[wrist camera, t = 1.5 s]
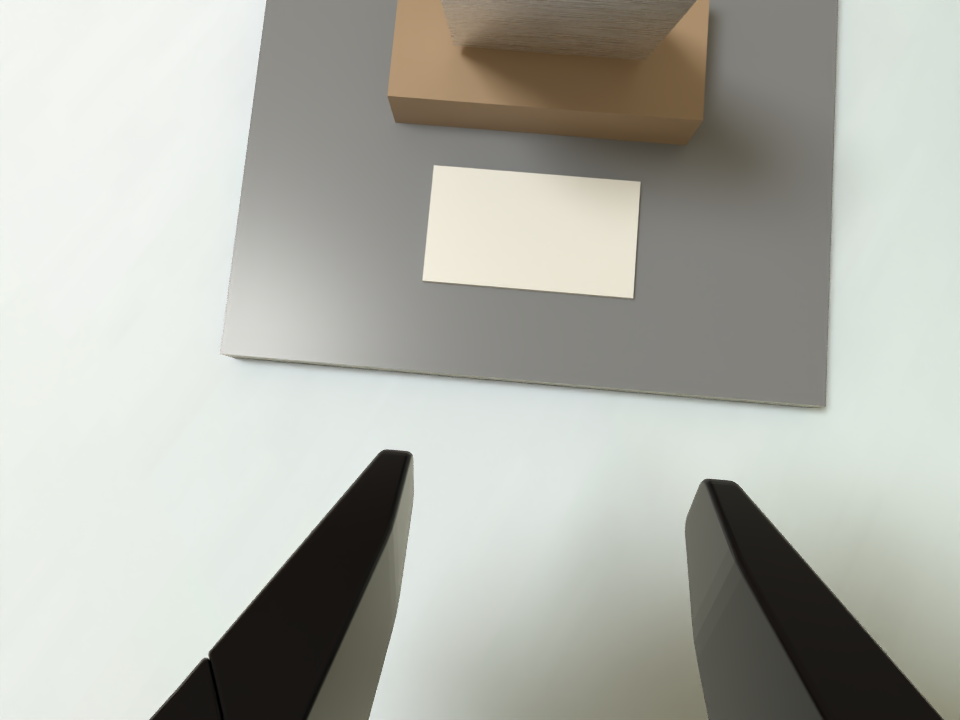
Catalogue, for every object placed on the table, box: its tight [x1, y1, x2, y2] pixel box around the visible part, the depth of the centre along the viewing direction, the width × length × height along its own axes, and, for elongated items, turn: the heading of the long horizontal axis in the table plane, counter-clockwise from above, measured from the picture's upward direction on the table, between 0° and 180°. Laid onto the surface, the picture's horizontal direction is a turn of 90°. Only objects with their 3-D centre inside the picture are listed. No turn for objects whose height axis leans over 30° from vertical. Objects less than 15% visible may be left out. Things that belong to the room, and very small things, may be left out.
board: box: [220, 0, 838, 407], centre depth 22 cm, size 18×20×3 cm
